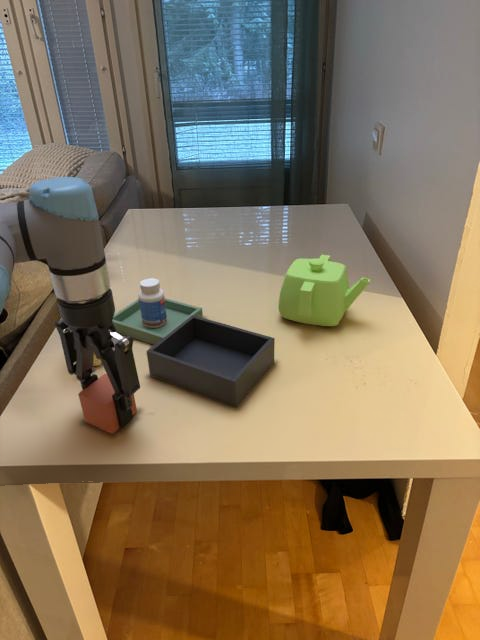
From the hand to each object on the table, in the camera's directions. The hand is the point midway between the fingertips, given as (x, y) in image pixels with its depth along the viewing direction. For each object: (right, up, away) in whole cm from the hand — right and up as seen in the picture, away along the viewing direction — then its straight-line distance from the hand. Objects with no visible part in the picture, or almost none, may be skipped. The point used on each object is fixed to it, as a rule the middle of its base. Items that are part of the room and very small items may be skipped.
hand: (111, 415), depth 77 cm
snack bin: (+16, +7, +11) cm, 21 cm away
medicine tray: (+3, +15, +25) cm, 30 cm away
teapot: (+40, +17, +27) cm, 51 cm away
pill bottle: (+3, +15, +25) cm, 29 cm away
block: (0, 0, 0) cm, 0 cm away
